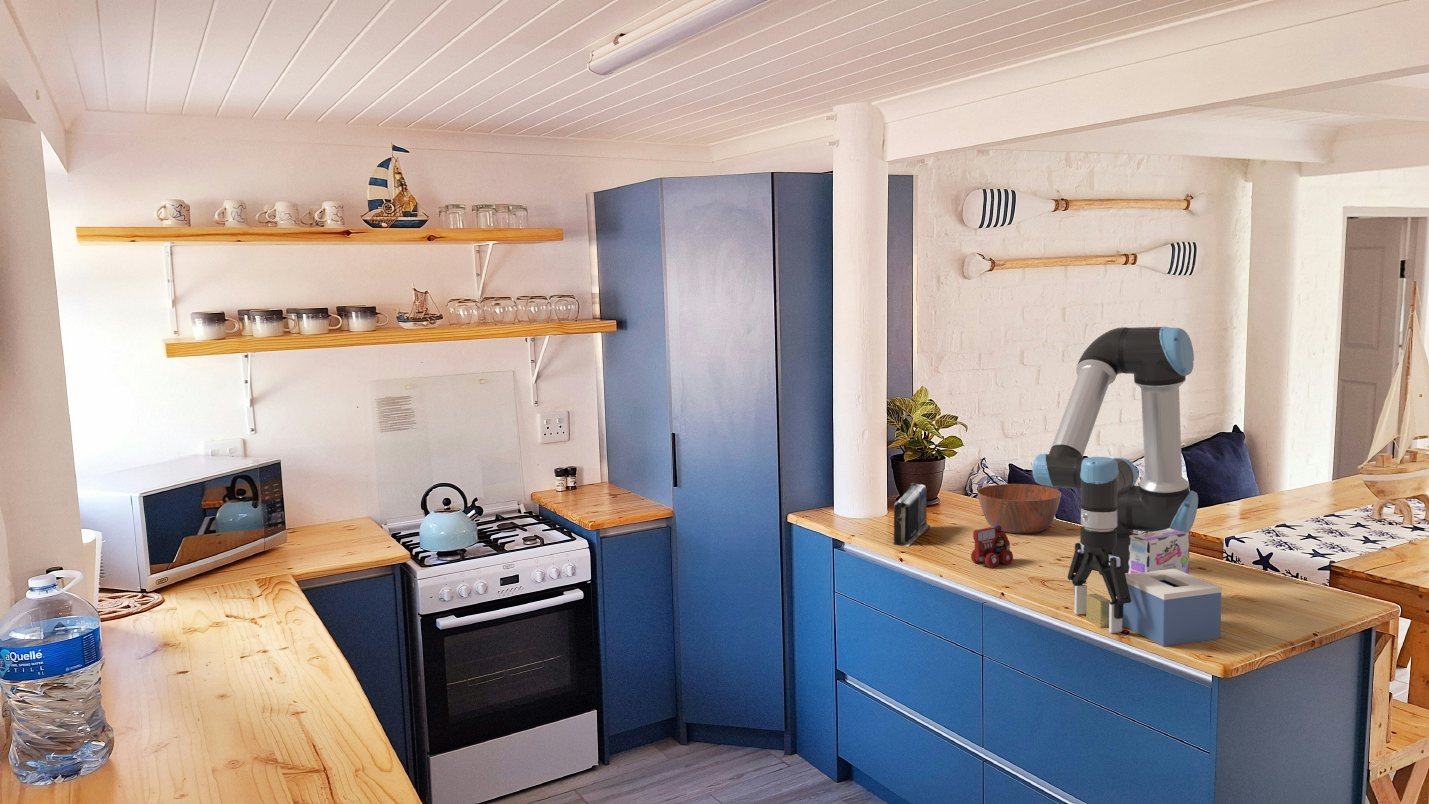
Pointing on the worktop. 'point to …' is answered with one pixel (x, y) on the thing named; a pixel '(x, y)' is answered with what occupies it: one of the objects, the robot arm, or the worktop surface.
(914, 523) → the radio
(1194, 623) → the coin box
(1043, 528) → the bowl
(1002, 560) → the toy fire truck
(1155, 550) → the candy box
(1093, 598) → the wooden toy block
